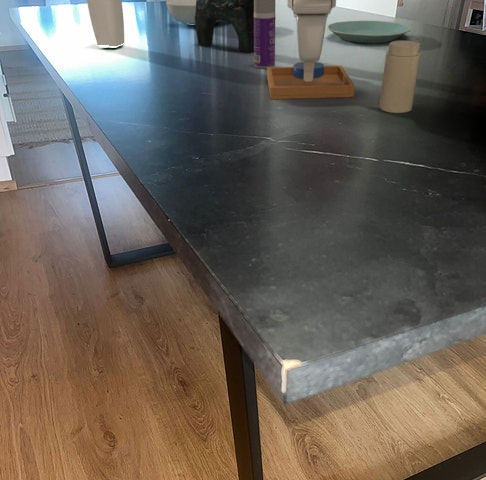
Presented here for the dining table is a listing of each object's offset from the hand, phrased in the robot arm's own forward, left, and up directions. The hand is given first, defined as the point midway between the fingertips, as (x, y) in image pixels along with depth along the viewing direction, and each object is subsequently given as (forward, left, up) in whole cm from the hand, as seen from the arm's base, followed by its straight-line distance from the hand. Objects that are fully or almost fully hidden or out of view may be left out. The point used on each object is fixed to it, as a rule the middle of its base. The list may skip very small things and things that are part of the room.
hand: (308, 75), depth 104 cm
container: (+8, -18, -2) cm, 20 cm away
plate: (-21, -47, -2) cm, 52 cm away
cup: (+48, -43, -2) cm, 64 cm away
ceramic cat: (+17, -38, -2) cm, 42 cm away
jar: (-14, +15, -2) cm, 21 cm away
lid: (0, 0, +2) cm, 2 cm away
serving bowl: (+26, -76, -2) cm, 80 cm away
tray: (0, 0, -2) cm, 2 cm away
